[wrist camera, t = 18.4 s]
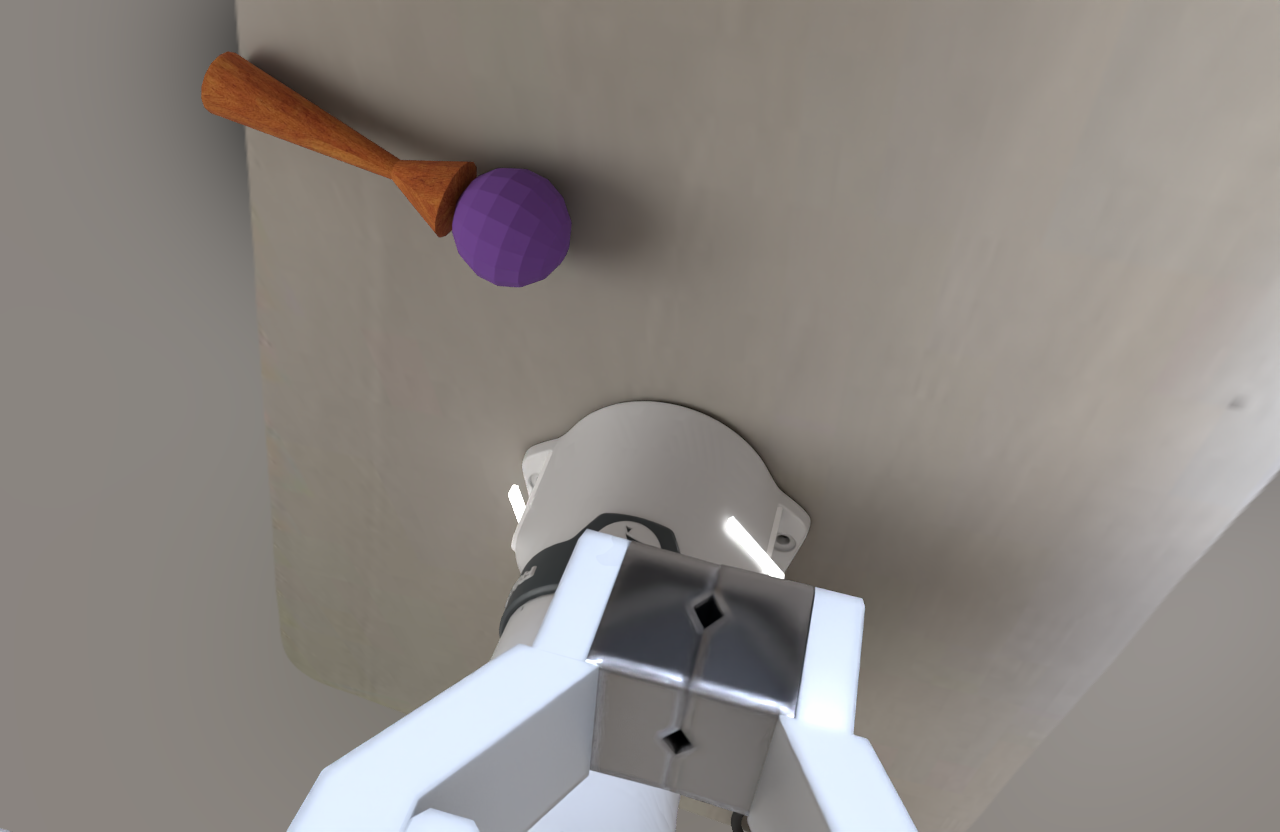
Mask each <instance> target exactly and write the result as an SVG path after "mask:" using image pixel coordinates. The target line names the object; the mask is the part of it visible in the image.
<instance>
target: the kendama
mask: <svg viewBox="0 0 1280 832" xmlns="http://www.w3.org/2000/svg"><path fill="white" fill-rule="evenodd" d="M201 98H202V102H203V104H204V107H205V108H206V109H207V110H208V111H209V112H210V113H213V114H215V115H218V116H221V117H223V118H226V119H229V120H231V121H234V122H237V123H240V124H242V125H245V126H248V127H250V128H253V129H256V130H259V131H261V132H264V133H267V134H270V135H272V136H275V137H278V138H280V139H283V140H286V141H289V142H291V143H294V144H297V145H299V146H302V147H305V148H308V149H310V150H313V151H316V152H318V153H321V154H324V155H327V156H329V157H332V158H335V159H337V160H340V161H343V162H346V163H348V164H351V165H354V166H356V167H359V168H362V169H365V170H367V171H370V172H373V173H376V174H378V175H381V176H384V177H386V178H389V179H392V180H393V181H394V183H395V184H396V185H397V186H398V188H399V189H400V190H401V191H402V192H403V194H404V195H405V196H406V197H407V199H408V200H409V201H410V202H411V204H412V205H413V206H414V207H415V209H416V210H417V211H418V212H419V213H420V215H421V216H422V217H423V218H424V220H425V221H426V222H427V223H428V225H429V226H430V227H431V228H432V229H433V231H434V232H435V233H436V234H437V236H438V237H443V236H446V235H447V234H448V233H449V232H450V231H451V230H452V233H453V237H454V240H455V243H456V246H457V250H458V253H459V254H460V256H461V257H462V258H463V259H464V260H465V262H466V263H467V264H468V265H469V266H470V267H471V269H472V270H473V271H474V272H475V273H476V274H477V276H479V277H481V278H483V279H485V280H487V281H489V282H491V283H493V284H495V285H497V286H508V287H523V286H526V285H529V284H531V283H534V282H537V281H540V280H543V279H545V278H546V277H547V276H548V275H549V274H550V273H551V272H552V271H553V270H554V269H555V268H556V267H558V266H559V265H560V264H561V262H562V261H563V259H564V258H565V256H566V254H567V251H568V249H569V244H570V234H571V224H572V223H571V220H570V217H569V214H568V211H567V208H566V205H565V202H564V199H563V197H562V195H561V194H560V193H559V192H558V191H557V190H556V188H555V187H554V186H553V185H552V184H551V183H550V182H549V180H548V179H546V178H544V177H542V176H540V175H538V174H536V173H534V172H532V171H530V170H528V169H514V168H497V169H495V170H492V171H490V172H487V173H485V174H482V175H480V176H478V177H477V178H476V171H477V167H476V165H475V163H474V162H462V161H417V160H400V159H398V158H397V157H395V156H394V155H392V154H391V153H389V152H387V151H386V150H384V149H383V148H381V147H380V146H378V145H377V144H375V143H374V142H372V141H370V140H369V139H367V138H366V137H364V136H363V135H361V134H360V133H358V132H357V131H355V130H353V129H352V128H350V127H349V126H347V125H346V124H344V123H343V122H341V121H340V120H338V119H337V118H335V117H333V116H332V115H330V114H329V113H327V112H326V111H324V110H323V109H321V108H320V107H318V106H316V105H315V104H313V103H312V102H310V101H309V100H307V99H306V98H304V97H303V96H301V95H300V94H298V93H296V92H295V91H293V90H292V89H290V88H289V87H287V86H286V85H284V84H283V83H281V82H279V81H278V80H276V79H275V78H273V77H272V76H270V75H269V74H267V73H266V72H264V71H262V70H261V69H259V68H258V67H256V66H255V65H253V64H252V63H250V62H249V61H247V60H246V59H244V58H242V57H241V56H239V55H238V54H236V53H232V52H226V53H224V54H221V55H219V56H218V57H217V58H216V59H215V60H214V61H213V62H212V63H211V65H210V67H209V68H208V70H207V72H206V74H205V77H204V80H203V84H202V97H201Z"/></svg>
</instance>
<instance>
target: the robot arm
mask: <svg viewBox="0 0 1280 832" xmlns="http://www.w3.org/2000/svg"><path fill="white" fill-rule="evenodd" d="M522 470H523V474H524V478H525V482H526V487H527V491H528V495H529V500H528V502H527V504H526V507H525V504H524V502H523V499H522V496H521V493H520V491H519V488H518V485H513V486H512V488H511V490H510V492H509V494H508V496H509V498H510V501H511V504H512V506H513V509H514V512H515V514H516V517H517V520H518V522H519V523H518V526H517V528H516V530H515V533H514V535H513V539H512V544H511V548H512V549H513V550H514V551H515V554H516V561H517V565H518V568H519V570H520V572H521V575H520V577H519V579H518V580H517V582H516V583H515V584H514V586H513V588H512V590H511V592H510V594H509V597H508V599H507V601H506V605H505V611H504V614H503V616H502V618H501V622H500V627H499V635H500V640H499V642H498V644H497V647H496V649H495V651H494V653H493V655H492V657H491V659H490V661H489V662H488V663H487V664H485V665H484V666H482V667H481V668H479V669H478V670H476V671H475V672H473V673H471V674H470V675H468V676H467V677H465V678H464V679H462V680H461V681H459V682H458V683H456V684H454V685H453V686H451V687H450V688H448V689H447V690H445V691H444V692H442V693H440V694H439V695H437V696H436V697H434V698H433V699H431V700H430V701H428V702H427V703H425V704H423V705H422V706H420V707H419V708H417V709H416V710H414V711H413V712H411V713H410V714H408V715H406V716H405V717H403V718H402V719H401V720H399V721H397V722H396V723H394V724H393V725H391V726H389V727H388V728H386V729H385V730H383V731H382V732H380V733H379V734H377V735H376V736H374V737H372V738H371V739H369V740H368V741H366V742H365V743H363V744H362V745H360V746H358V747H357V748H355V749H354V750H352V751H351V752H349V753H348V754H346V755H345V756H343V757H341V758H340V759H338V760H337V761H335V762H334V763H332V764H331V765H329V766H328V767H326V768H325V769H323V770H322V771H321V773H320V775H319V777H318V778H317V780H316V782H315V784H314V785H313V787H312V789H311V791H310V792H309V794H308V796H307V797H306V799H305V801H304V803H303V804H302V806H301V808H300V809H299V811H298V813H297V815H296V816H295V818H294V820H293V821H292V823H291V825H290V826H289V828H288V830H287V832H676V821H677V813H678V806H679V801H680V796H681V795H683V796H686V797H690V798H693V799H696V800H699V801H702V802H705V803H708V804H712V805H715V806H718V807H721V808H724V809H727V810H730V811H733V814H732V818H731V826H732V830H733V832H743V829H742V826H741V820H742V817H743V816H744V815H746V816H748V818H747V822H748V825H749V828H750V831H751V832H918V830H917V829H916V827H915V825H914V823H913V821H912V819H911V817H910V816H909V814H908V812H907V810H906V808H905V806H904V805H903V803H902V801H901V799H900V797H899V795H898V793H897V792H896V790H895V788H894V786H893V784H892V782H891V780H890V779H889V777H888V775H887V773H886V771H885V769H884V768H883V766H882V764H881V762H880V760H879V758H878V756H877V755H876V753H875V751H874V749H873V747H872V745H871V743H870V742H869V740H868V739H866V738H863V737H860V736H856V735H853V732H854V721H855V711H856V700H857V689H858V678H859V668H860V657H861V646H862V635H863V624H864V614H865V605H864V602H863V599H862V598H858V597H854V596H850V595H846V594H842V593H838V592H834V591H830V590H826V589H822V588H818V587H815V588H814V589H813V586H811V585H807V584H803V583H799V582H795V581H791V580H786V579H784V573H785V571H786V570H787V568H788V566H789V565H790V563H791V561H792V560H793V558H794V557H795V555H796V553H797V552H798V550H799V548H800V547H801V545H802V543H803V542H804V540H805V538H806V536H807V534H808V531H809V528H810V524H811V520H810V517H809V515H808V514H807V513H806V511H805V510H804V509H803V508H802V507H800V506H799V505H798V504H797V503H796V502H795V501H793V500H792V499H791V498H790V497H788V496H787V495H786V494H785V493H783V492H782V491H781V490H780V489H779V487H778V486H777V485H776V483H775V482H774V480H773V478H772V476H771V475H770V473H769V471H768V469H767V467H766V466H765V464H764V462H763V461H762V459H761V458H760V457H759V455H758V454H757V453H756V452H755V450H754V449H753V448H752V447H751V446H750V445H749V444H748V443H747V442H746V441H745V440H744V439H743V438H742V437H740V436H739V435H738V434H737V433H735V432H734V431H733V430H731V429H730V428H728V427H727V426H725V425H724V424H722V423H721V422H719V421H717V420H715V419H713V418H711V417H709V416H707V415H705V414H703V413H700V412H698V411H695V410H692V409H689V408H686V407H683V406H679V405H675V404H669V403H663V402H654V401H632V402H624V403H618V404H614V405H610V406H607V407H604V408H601V409H599V410H597V411H595V412H593V413H591V414H589V415H588V416H586V417H584V418H583V419H582V420H580V421H579V422H578V423H577V424H576V425H575V426H574V427H573V428H571V429H570V430H569V431H568V432H567V433H566V434H564V435H563V436H561V437H560V438H557V439H553V440H550V441H546V442H542V443H539V444H536V445H534V446H532V447H530V448H529V449H528V450H527V451H526V454H525V456H524V459H523V462H522ZM780 535H784V536H787V537H782V536H780ZM0 832H11V831H8V830H5V829H2V828H0Z"/></svg>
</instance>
